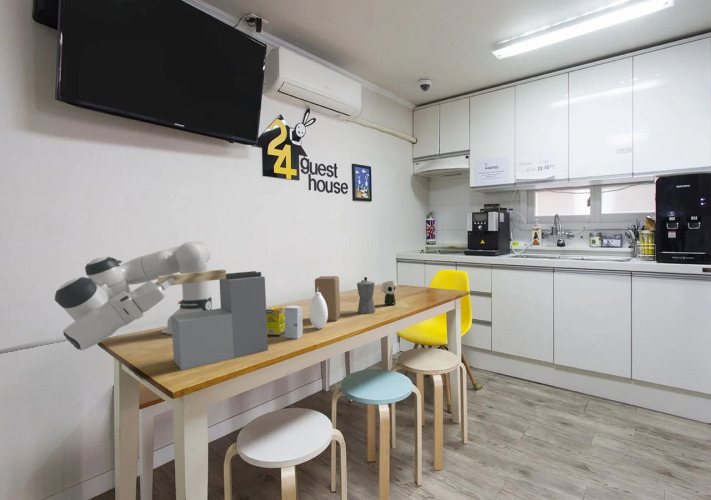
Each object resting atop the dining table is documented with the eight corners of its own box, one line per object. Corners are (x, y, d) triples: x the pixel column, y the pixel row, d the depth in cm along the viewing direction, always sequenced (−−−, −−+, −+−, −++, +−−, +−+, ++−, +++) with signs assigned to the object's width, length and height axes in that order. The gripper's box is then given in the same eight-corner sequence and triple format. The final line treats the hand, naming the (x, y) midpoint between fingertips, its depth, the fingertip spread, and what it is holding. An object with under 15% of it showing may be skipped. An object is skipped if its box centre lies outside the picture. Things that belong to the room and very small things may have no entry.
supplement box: (280, 336, 143) (279, 309, 142) (266, 336, 144) (265, 309, 144) (286, 332, 149) (285, 306, 148) (272, 332, 150) (271, 306, 149)
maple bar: (160, 286, 109) (159, 277, 109) (158, 285, 111) (157, 276, 111) (226, 278, 121) (225, 269, 121) (223, 277, 124) (222, 269, 123)
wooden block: (320, 316, 176) (319, 276, 176) (340, 316, 175) (339, 275, 174) (315, 321, 167) (314, 278, 166) (336, 321, 165) (335, 278, 164)
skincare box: (284, 337, 141) (283, 307, 140) (290, 334, 145) (289, 305, 145) (298, 339, 139) (296, 308, 138) (303, 335, 143) (302, 305, 142)
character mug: (385, 306, 194) (384, 283, 194) (378, 304, 201) (377, 281, 200) (401, 304, 199) (401, 281, 199) (394, 302, 206) (394, 280, 205)
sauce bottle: (330, 326, 157) (329, 285, 156) (325, 330, 149) (323, 288, 149) (313, 325, 159) (312, 285, 158) (307, 330, 151) (305, 288, 150)
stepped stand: (181, 370, 109) (176, 280, 108) (173, 360, 119) (169, 277, 118) (267, 350, 126) (264, 272, 125) (255, 342, 136) (251, 270, 135)
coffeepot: (379, 314, 178) (377, 278, 177) (360, 315, 176) (359, 279, 175) (371, 308, 193) (370, 274, 192) (354, 309, 191) (353, 275, 190)
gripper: (131, 309, 115) (171, 283, 122) (139, 320, 99) (184, 290, 105) (118, 293, 113) (160, 268, 120) (124, 302, 96) (172, 272, 103)
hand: (172, 278), depth 112 cm, fingers closed on maple bar, 3 cm apart
